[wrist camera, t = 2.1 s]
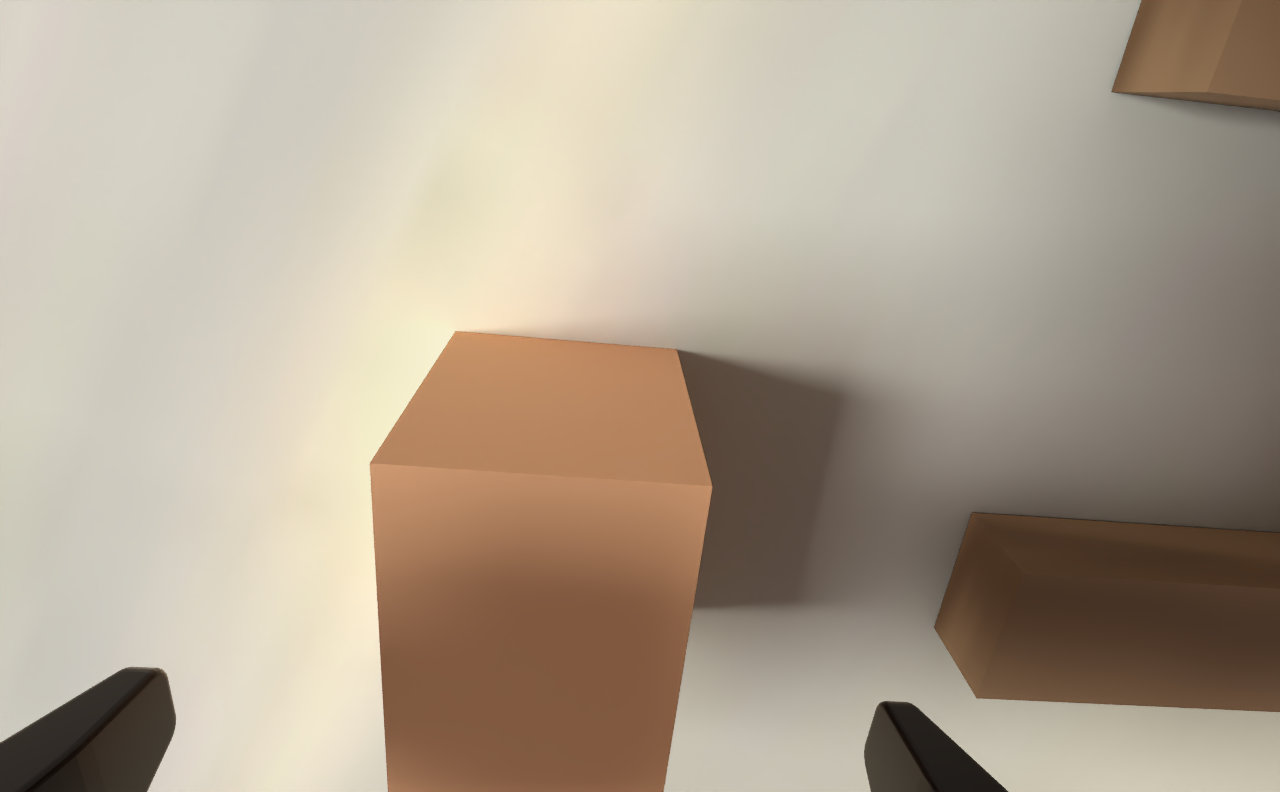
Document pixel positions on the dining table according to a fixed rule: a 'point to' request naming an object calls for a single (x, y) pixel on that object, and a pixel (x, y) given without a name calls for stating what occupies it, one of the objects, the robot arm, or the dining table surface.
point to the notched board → (1128, 552)
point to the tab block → (537, 566)
